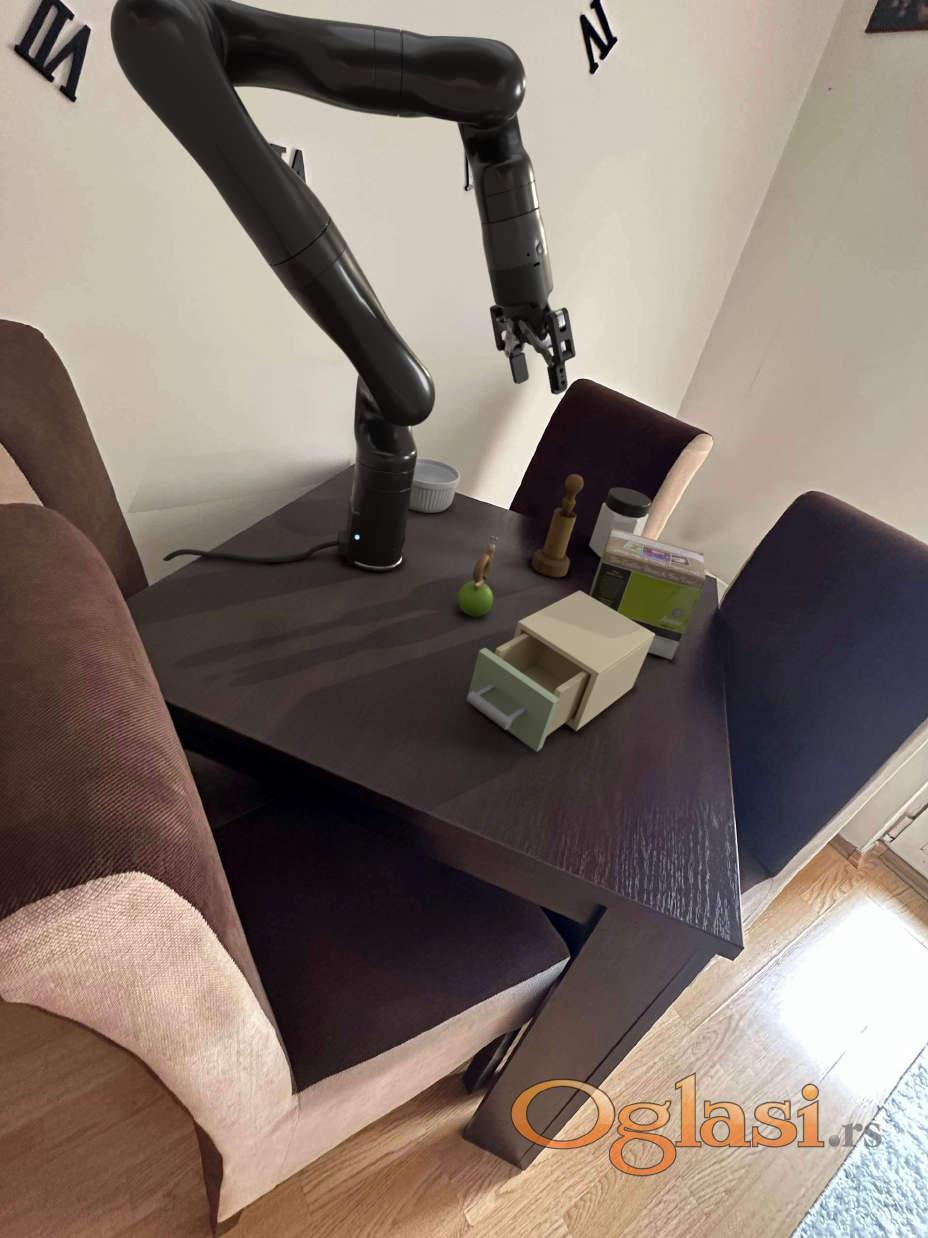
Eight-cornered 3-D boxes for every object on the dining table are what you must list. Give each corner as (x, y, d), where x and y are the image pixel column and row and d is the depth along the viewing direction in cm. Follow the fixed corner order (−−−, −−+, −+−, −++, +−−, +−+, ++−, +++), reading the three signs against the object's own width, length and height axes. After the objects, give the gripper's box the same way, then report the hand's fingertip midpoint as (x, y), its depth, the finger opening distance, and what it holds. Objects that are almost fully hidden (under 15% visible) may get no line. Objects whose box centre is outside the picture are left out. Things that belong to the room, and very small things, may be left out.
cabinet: (576, 731, 83) (598, 673, 78) (501, 678, 89) (518, 621, 84) (632, 687, 93) (655, 633, 87) (561, 643, 99) (579, 590, 94)
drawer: (514, 769, 74) (530, 718, 70) (443, 713, 80) (454, 663, 75) (596, 706, 86) (614, 660, 82) (529, 662, 92) (543, 616, 87)
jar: (603, 537, 134) (622, 483, 128) (638, 554, 130) (659, 499, 124) (581, 548, 128) (600, 492, 121) (617, 566, 124) (638, 509, 118)
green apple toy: (495, 607, 104) (512, 541, 97) (483, 627, 98) (500, 558, 92) (463, 596, 104) (478, 530, 98) (449, 615, 99) (464, 546, 93)
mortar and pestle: (566, 563, 121) (594, 473, 111) (567, 580, 116) (597, 487, 106) (531, 556, 121) (557, 464, 111) (531, 572, 115) (557, 478, 106)
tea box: (672, 629, 108) (706, 552, 100) (671, 662, 100) (708, 580, 92) (584, 602, 110) (611, 524, 102) (576, 632, 102) (605, 549, 94)
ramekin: (382, 506, 127) (386, 472, 123) (398, 482, 138) (403, 451, 134) (447, 522, 126) (454, 489, 122) (459, 497, 137) (465, 466, 133)
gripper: (461, 265, 83) (489, 389, 93) (527, 268, 72) (550, 407, 82) (508, 246, 85) (530, 368, 95) (579, 246, 75) (596, 384, 84)
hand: (540, 386), depth 89 cm, fingers open, 8 cm apart
